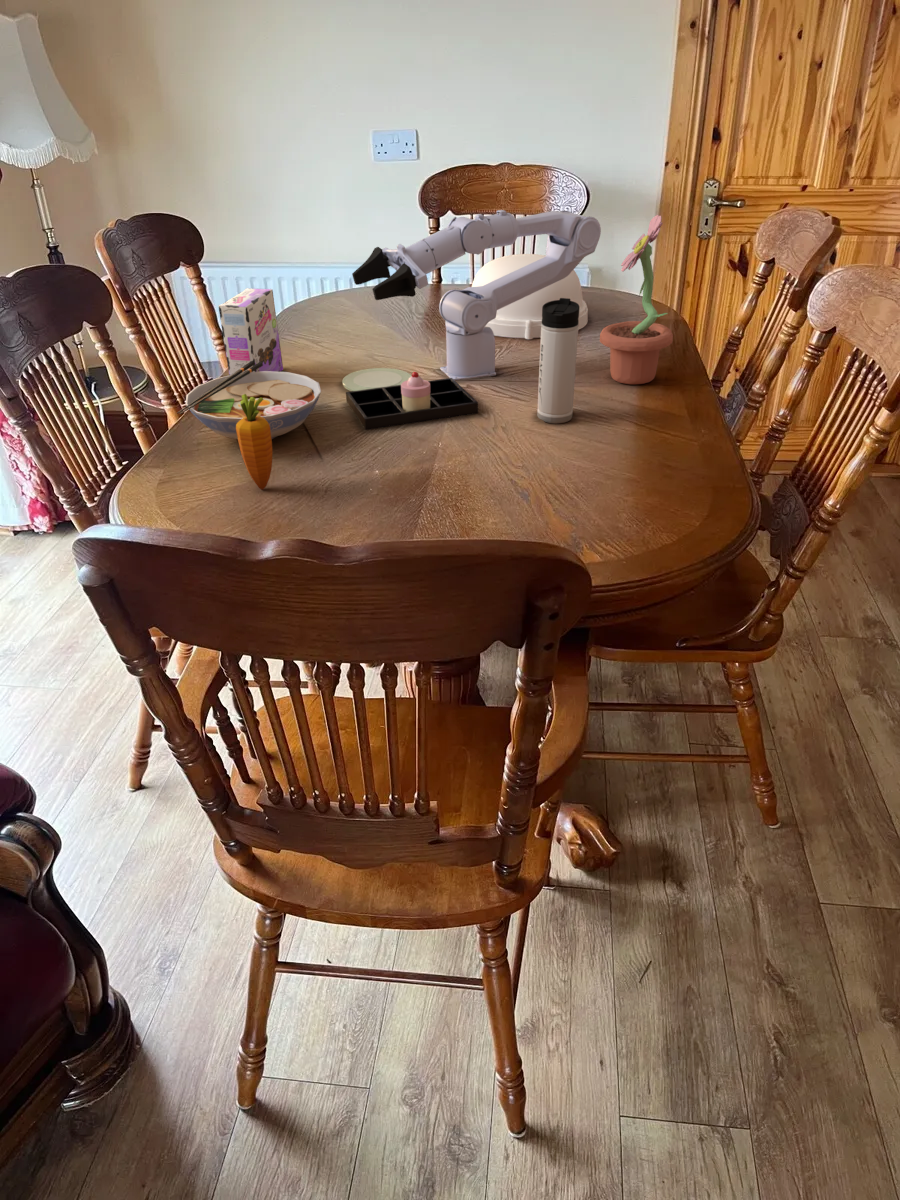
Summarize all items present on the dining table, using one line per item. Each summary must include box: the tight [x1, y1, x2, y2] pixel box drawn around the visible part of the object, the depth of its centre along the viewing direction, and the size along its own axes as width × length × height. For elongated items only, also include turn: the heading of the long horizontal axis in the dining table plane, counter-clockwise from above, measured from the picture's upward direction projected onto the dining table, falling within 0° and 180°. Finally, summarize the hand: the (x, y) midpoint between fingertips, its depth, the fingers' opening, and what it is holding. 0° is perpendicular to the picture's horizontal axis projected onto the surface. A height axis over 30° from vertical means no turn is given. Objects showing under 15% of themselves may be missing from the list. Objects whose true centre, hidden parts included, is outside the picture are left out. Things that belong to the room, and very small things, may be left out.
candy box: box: [218, 288, 284, 376], centre depth 165 cm, size 14×6×16 cm, turn 168°
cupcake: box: [401, 371, 430, 412], centre depth 150 cm, size 5×5×8 cm
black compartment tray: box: [345, 377, 479, 431], centre depth 154 cm, size 14×21×2 cm
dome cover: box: [471, 253, 589, 340], centre depth 198 cm, size 32×30×14 cm
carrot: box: [236, 394, 274, 491], centre depth 124 cm, size 5×5×15 cm
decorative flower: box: [599, 214, 674, 385], centre depth 159 cm, size 15×14×30 cm
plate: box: [341, 367, 412, 392], centre depth 167 cm, size 14×14×1 cm
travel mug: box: [536, 298, 579, 425], centre depth 145 cm, size 6×7×20 cm
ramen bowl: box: [176, 361, 322, 440], centre depth 144 cm, size 25×23×8 cm
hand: (364, 286), depth 151 cm, fingers open, 7 cm apart
